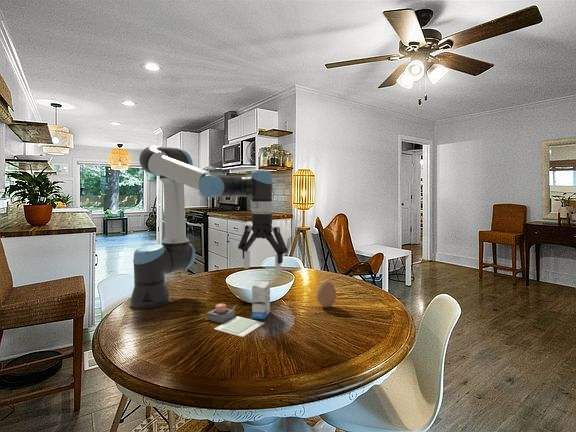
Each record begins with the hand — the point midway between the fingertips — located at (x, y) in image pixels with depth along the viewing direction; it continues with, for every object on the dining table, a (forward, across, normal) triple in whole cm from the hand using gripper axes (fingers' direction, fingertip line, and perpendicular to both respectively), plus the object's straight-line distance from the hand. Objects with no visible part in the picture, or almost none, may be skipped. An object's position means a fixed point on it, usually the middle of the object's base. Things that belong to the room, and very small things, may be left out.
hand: (262, 270), depth 122 cm
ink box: (+17, 0, 0) cm, 17 cm away
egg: (+17, +18, +20) cm, 32 cm away
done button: (+15, -11, -10) cm, 21 cm away
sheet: (+17, -1, -13) cm, 21 cm away
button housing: (+17, -12, -10) cm, 23 cm away
